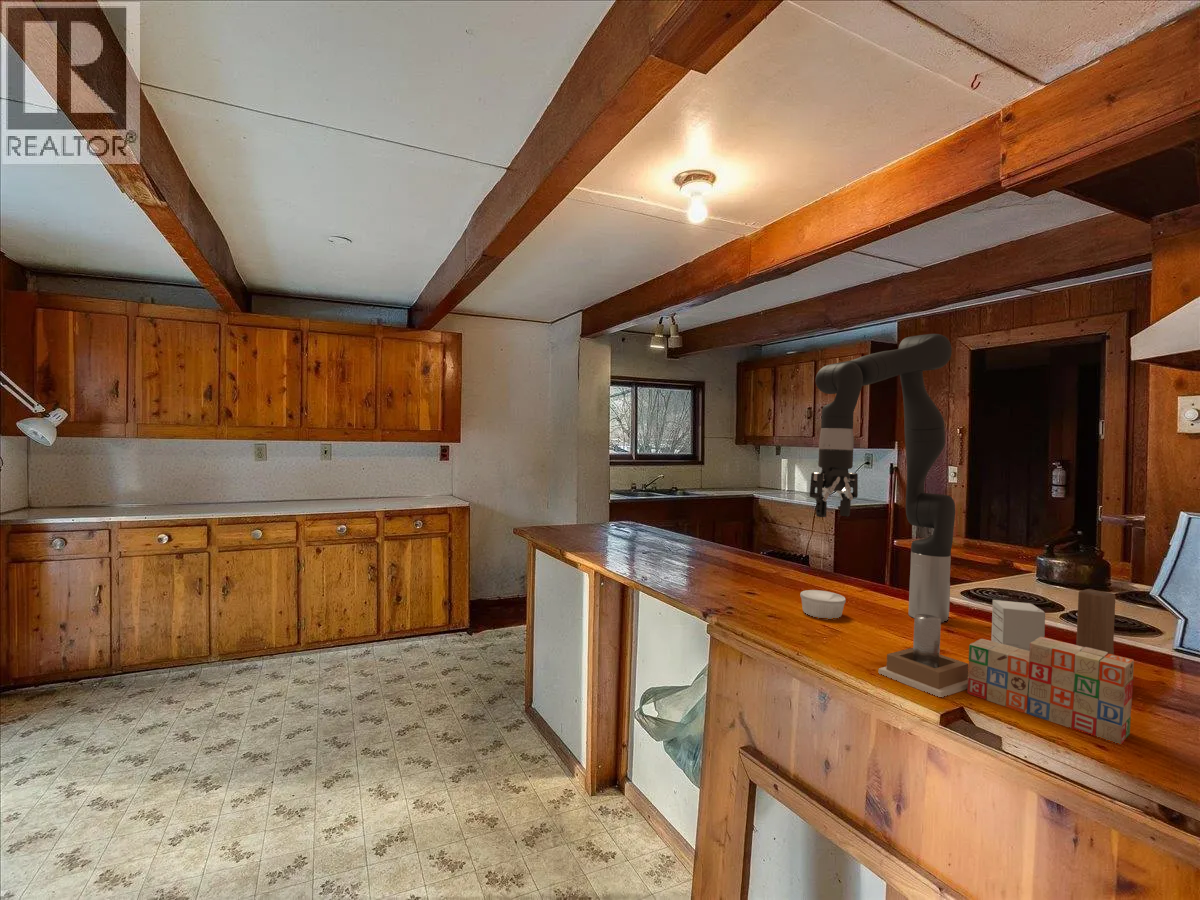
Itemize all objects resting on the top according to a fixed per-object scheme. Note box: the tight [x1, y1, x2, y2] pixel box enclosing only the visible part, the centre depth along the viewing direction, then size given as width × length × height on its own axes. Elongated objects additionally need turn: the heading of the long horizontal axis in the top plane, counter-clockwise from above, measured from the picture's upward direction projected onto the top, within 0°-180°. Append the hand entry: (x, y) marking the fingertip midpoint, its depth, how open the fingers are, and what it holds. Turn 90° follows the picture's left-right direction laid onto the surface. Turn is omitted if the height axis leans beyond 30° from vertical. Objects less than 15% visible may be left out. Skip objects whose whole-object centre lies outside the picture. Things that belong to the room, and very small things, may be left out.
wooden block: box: [1075, 588, 1116, 655], centre depth 112 cm, size 9×4×18 cm, turn 121°
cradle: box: [878, 647, 969, 698], centre depth 110 cm, size 12×12×4 cm
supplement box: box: [990, 599, 1046, 651], centre depth 119 cm, size 7×7×13 cm
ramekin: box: [799, 589, 846, 620], centre depth 152 cm, size 11×11×5 cm
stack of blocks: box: [966, 636, 1135, 745], centre depth 97 cm, size 21×6×12 cm, turn 37°
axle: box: [912, 614, 942, 668], centre depth 110 cm, size 4×4×11 cm
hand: (833, 516), depth 134 cm, fingers open, 8 cm apart
